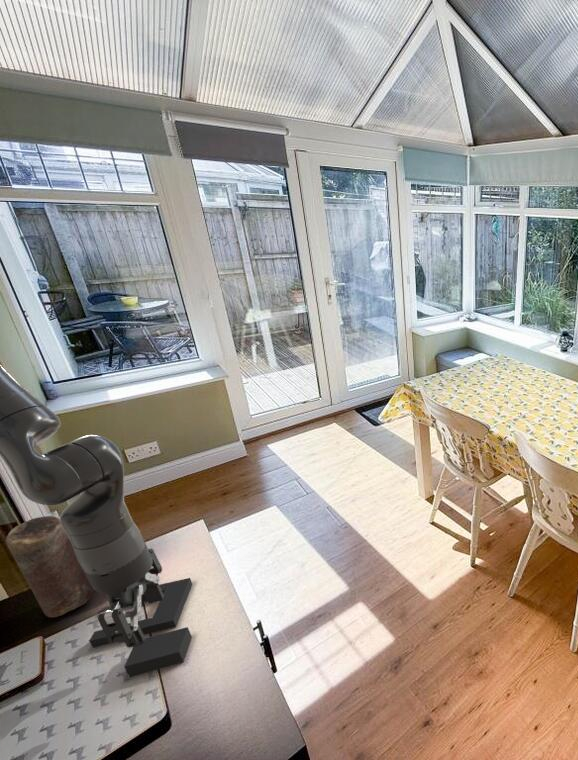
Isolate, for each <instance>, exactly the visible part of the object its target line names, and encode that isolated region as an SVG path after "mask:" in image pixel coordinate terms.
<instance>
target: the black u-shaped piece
mask: <svg viewBox="0 0 578 760" xmlns="http://www.w3.org/2000/svg"><path fill="white" fill-rule="evenodd" d="M159 586H160V588H161V590H162V592H163V595H164V597H163V599H162V600H161V601H158V604H157V607H156V609H155V611H154V613H153V615H152V617H150V618H145V619H140V620H138V625H139V627H140V629H141V630H142V632H143V634H144V636H146V635H150V634H154V633H158V632H162V631H166V630H171V629H174V628H177V626H178V623H179V621H180V619H181V615H182V613H183V610H184V608H185V605H186V602H187V600H188V597H189V594H190V592H191V589H192V587H193V581H192V580H191V577H187V578H181V579H178V580H173V581H169V582H164V583H160V584H159ZM146 602H147V603H148V601H147V599H146V597H145V595H144V593H143V595H142V598H141V604H143V603H146ZM128 624H130V622H128ZM88 642H89V644H90V645H91V647H92V648H93V649H96V648H99V647H103V646H107V645H111V644H110V643H109V642H108V640H107V638H106V635H105V633H104V631H103V629H100V630H95V631H94V632H93V633H92V635H91V637H90V639H89V641H88ZM119 642H120V641H118V642H117V643H119ZM121 642H124V640H122V641H121Z"/></svg>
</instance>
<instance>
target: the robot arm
mask: <svg viewBox="0 0 578 760" xmlns="http://www.w3.org/2000/svg"><path fill="white" fill-rule="evenodd" d="M61 425H62V422H61V419H60V417H59V416H58V415H57V414H55V412H53V411H52V409H50V408H48V407H47V406H46V405H45V404H44V403H43V402H42V401H41V400H39V399H38V398H37V397H36V396H35V395H33V394H32V393H31V392H30V391H29V390H27V389H26V388H25V387H24V386H22V384H20V383H19V382H18V381H17V380H16V379H15V378H14V377H13V376H11V374H10V373H9V372H8V371H7V370H6V369H5V368H4V367H3V366H2V365H1V364H0V458H1V460H2V461H3V463H4V464H5V465H6V467H7V469H8V470H9V472H10V474H11V476H12V478H13V480H14V482H15V484H16V486H17V488H18V489H19V491H20V492H21V494H22V495H23V496H24V498H26V499H28V500H29V501H31V502H33V503H35V504H38V505H43V506H56V505H57V506H58V505H61V504H63V503H65V502H67V501H70V500H71V499H73V498H75V497H76V498H75V499H74V500H73V501H72V502H71V503H69V504H68V505H67V506H66V507H65V508H64V509H63V511H61V513H60V515H59V519H60V522H61V525H62V527H63V529H64V531H65V532H66V534H67V536H68V538H69V540H70V542H71V543H72V545H73V547H74V551H75V555H76V557H77V560H78V562H79V563H80V565H81V567H82V569H83V571H84V573H85V574H86V576H87V578H88V580H89V582H90V584H91V586H92V587H93V589H94V590H93V591H95V592H97V593H101V594H104V595H106V596H107V597H108V605H109V607H108V609H107V610H106V611H102V612H100V613H98V616H97V621H98V623H99V625H100V627H101V630H103V631H104V633H105V635H106V638H107V640H108V642H109V643H110V644H109V645H111V644H115V643H119V642H124V644H125V645H126V648H128V649H130V648H133V647H134V646H138V645H142V644H143V643H144V641H145V638H146V637H145V636H146V635H144V634H143V632H142V630H141V629H140V627H139V625H138V621H139V615H140V614H141V613H142V603H141V598H142V595H143V593H144V595H145V597H146V599H147V603H148V604H153V603H157V602H158V603H159V602H160V601H161V600H162V599H163V597H164V595H163V592H162V590H161V588H160V586H159V585H160V584H159V583H160V580H161V579H160V576H159V574H161V573H162V572H163V567H162V564H161V563H160V560H159V558H158V556H157V554H156V552H155V550H154V549H153V548H148V546H147V543H146V542H145V539H144V537H143V535H142V532H141V530H140V529H139V527H138V525H137V524H136V523H135V521H134V519H133V517H132V515H131V513H130V510H129V508H128V506H127V504H126V502H125V464H124V463H125V462H124V458H123V455H122V453H121V451H120V449H119V447H118V446H117V445H116V444H115V443H114V442H113V441H111V439H108V437H104V436H102V435H97V434H96V435H95V434H89V435H88V434H87V435H84V436H81V437H79V438H76V439H74V440H71V441H70V442H69V441H68V442H67V443H65V444H63V445H60V446H58V447H56V448H53V449H52V450H49V451H47V452H44V453H43V454H41V453H39V452H38V451H37V450H36V448H37V447H39V446H40V445H42V444H43V443H45V442H46V441H48V440H49V439H50V438H51V437H53V436H54V435H56V433H58V431H60V428H61ZM131 607H133V609H131V610H127V611H125V610H123V609H126V608H127V609H128V608H131ZM128 618H129V619H130V620H129V621H130V622H128V620H127V619H128ZM128 623H130V624H128ZM122 640H123V641H122ZM118 641H119V642H118Z"/></svg>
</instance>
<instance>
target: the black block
mask: <svg viewBox="0 0 578 760" xmlns="http://www.w3.org/2000/svg"><path fill="white" fill-rule="evenodd" d="M192 638H193V635H192V633H191V631H190V628H189V627H188V626H187V627H181V628H179V629H175V630H171V631H167V632H163V633H158V634H155V635H151V636H148V637H145V641H144V643H143V644H142V645H138V646H134V647H131V648H132V649H131V650H130V653H129V655H128V658H127V659H126V662H125V664H124V666H123V667H124V669H125V671H126V673H127V675H128V678H132V677H136V676H139V675H143V674H147V673H151V672H153V671H157V670H161V669H164V668H168V667H172V666H176V665H179V664H182V663H184V662H185V660H186V656H187V653H188V651H189V648H190V645H191V642H192Z"/></svg>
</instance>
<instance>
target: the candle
mask: <svg viewBox="0 0 578 760" xmlns="http://www.w3.org/2000/svg"><path fill="white" fill-rule="evenodd" d="M5 543H6V546H7V548H8V550H9V552H10V553H11V555H12V557H13V559H14V560H15V562H16V564H17V566H18V567H19V569H20V571H21V573H22V575H23V577H24V579H25V580H26V582H27V584H28V586H29V588H30V590H31V592H32V594H33V596H34V598H35V599H36V601H37V603H38V605H39V607H40V609H41V611H42V612H43V614H44V615H45V616H46V617H47V618H58V617H60V616H63V615H65V614H66V613H68V612H71V611H74V610H76V609H78V608H80V607H82V606H83V605H85V604H86V603H87V602H88V601H89V600H90V599H91V596H92V595H93V593H94V591H95V590H94V589H93V587H92V586H91V584H90V582H89V580H88V578H87V576H86V574H85V573H84V571H83V569H82V567H81V565H80V563H79V562H78V560H77V557H76V555H75V551H74V547H73V545H72V543H71V542H70V540H69V538H68V536H67V534H66V532H65V531H64V529H63V527H62V525H61V522H60V518H59V517H57V516H53V515H46V516H40V517H39V516H37V517H34V518H31V519H29V520H26V521H24V522H23V523H20V524H18V525H16V526H15V527H14V528H12V529H11V530H10V531H9V532H8V534H7V535H6V537H5Z"/></svg>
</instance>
